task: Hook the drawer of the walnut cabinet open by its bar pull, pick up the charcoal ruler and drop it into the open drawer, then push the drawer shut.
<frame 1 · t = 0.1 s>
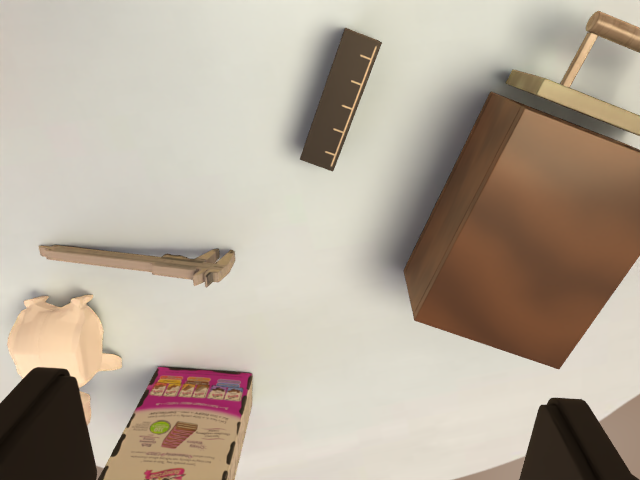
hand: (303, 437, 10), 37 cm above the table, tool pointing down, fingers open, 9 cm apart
drawer: (557, 174, 40), point 5 cm above the table, slide at 1.0 cm
peach plush toy: (82, 342, 55), on the table
cabinet: (509, 212, 46), on the table
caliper: (138, 250, 50), on the table
ruler: (339, 97, 43), on the table
candy bar box: (207, 384, 57), on the table
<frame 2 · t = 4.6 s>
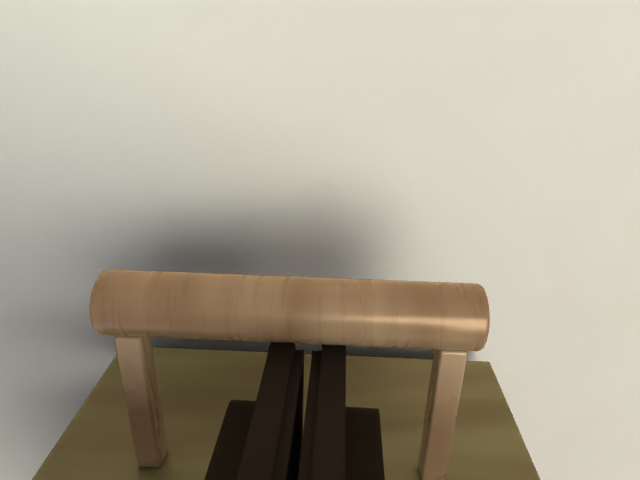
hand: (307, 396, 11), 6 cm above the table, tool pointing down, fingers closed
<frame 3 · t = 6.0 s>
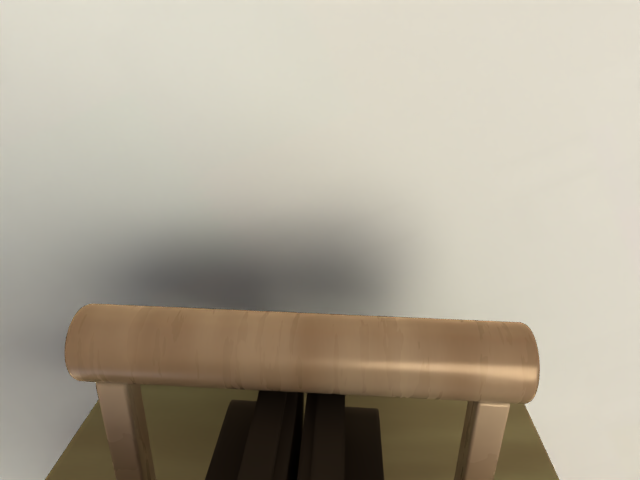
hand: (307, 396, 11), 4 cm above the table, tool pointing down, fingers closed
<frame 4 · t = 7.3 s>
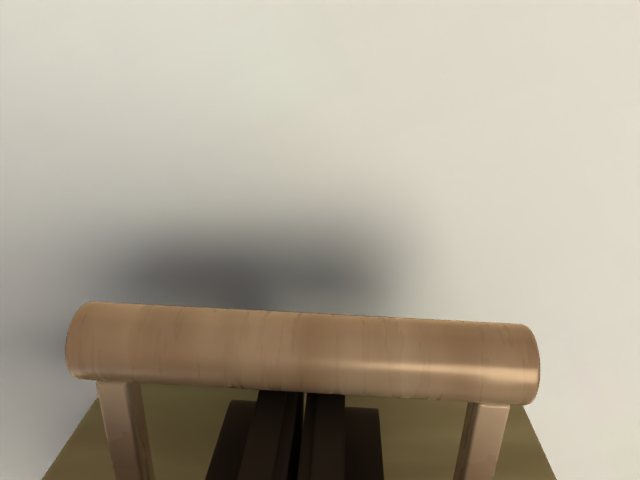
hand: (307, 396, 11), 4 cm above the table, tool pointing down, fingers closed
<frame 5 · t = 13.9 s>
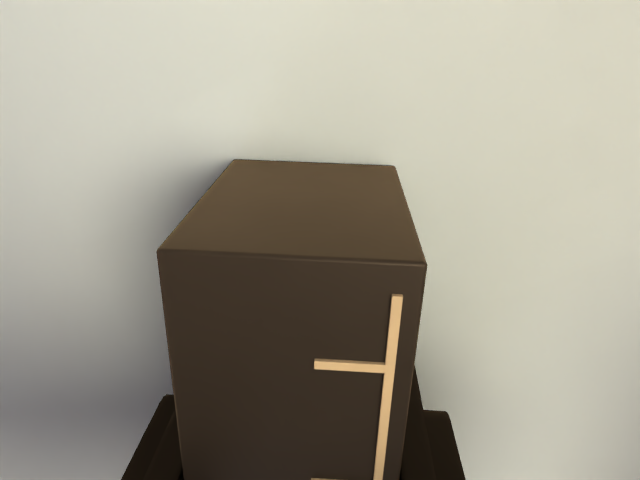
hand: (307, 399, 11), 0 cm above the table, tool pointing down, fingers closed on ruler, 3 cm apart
ruler: (308, 392, 11), on the table, touching gripper
when the fingers open (5 cm above the table, at t = 20.7 s): ruler stays where it is, resting on drawer.
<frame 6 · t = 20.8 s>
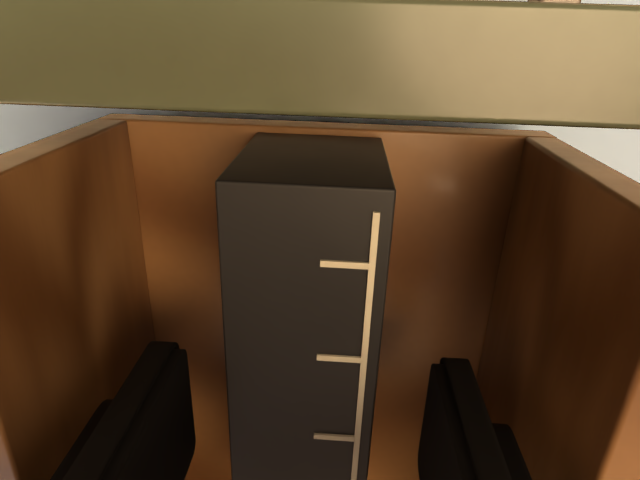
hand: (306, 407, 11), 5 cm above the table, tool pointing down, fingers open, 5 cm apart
drawer: (311, 315, 11), point 5 cm above the table, slide at 13.6 cm, touching gripper, ruler
ruler: (312, 325, 14), point 2 cm above the table, touching drawer
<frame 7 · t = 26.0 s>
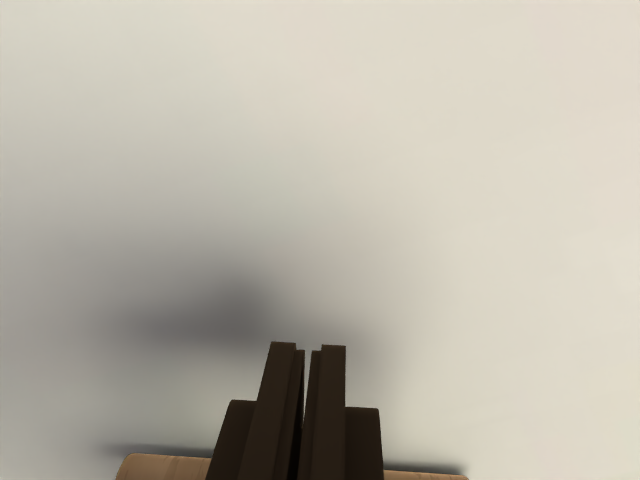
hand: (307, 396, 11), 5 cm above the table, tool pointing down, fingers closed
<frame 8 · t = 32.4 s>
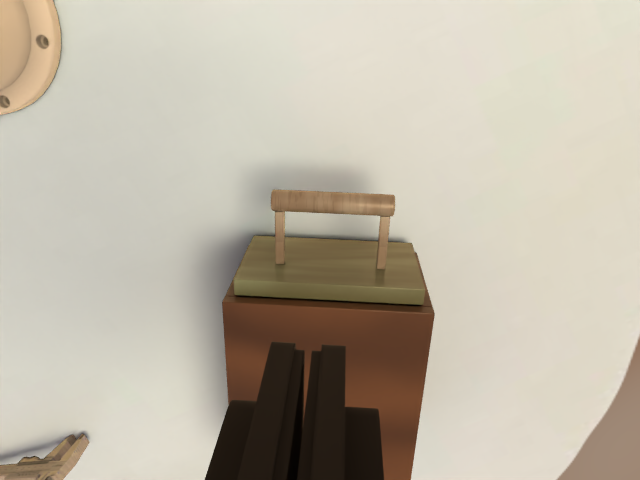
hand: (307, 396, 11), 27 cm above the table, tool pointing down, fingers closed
drawer: (327, 331, 37), point 5 cm above the table, slide at 0.0 cm, touching cabinet, ruler
cabinet: (328, 343, 43), on the table
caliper: (9, 454, 51), on the table
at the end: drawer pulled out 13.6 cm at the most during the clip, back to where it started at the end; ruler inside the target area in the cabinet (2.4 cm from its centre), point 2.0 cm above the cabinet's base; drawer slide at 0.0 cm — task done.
